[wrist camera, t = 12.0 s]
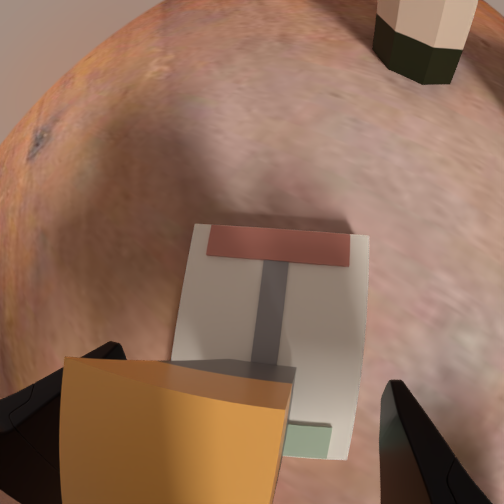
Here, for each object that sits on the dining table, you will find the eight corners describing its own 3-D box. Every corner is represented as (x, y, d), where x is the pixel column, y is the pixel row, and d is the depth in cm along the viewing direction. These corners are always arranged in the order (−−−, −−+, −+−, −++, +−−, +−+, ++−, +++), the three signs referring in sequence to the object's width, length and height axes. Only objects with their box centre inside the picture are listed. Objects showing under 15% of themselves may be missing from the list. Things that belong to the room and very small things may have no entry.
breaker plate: (341, 448, 13) (347, 461, 11) (177, 424, 15) (160, 432, 13) (362, 248, 17) (369, 234, 14) (205, 237, 18) (193, 222, 16)
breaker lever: (287, 431, 12) (249, 589, 2) (221, 421, 12) (64, 521, 3) (296, 367, 13) (285, 409, 3) (229, 358, 13) (65, 356, 4)
